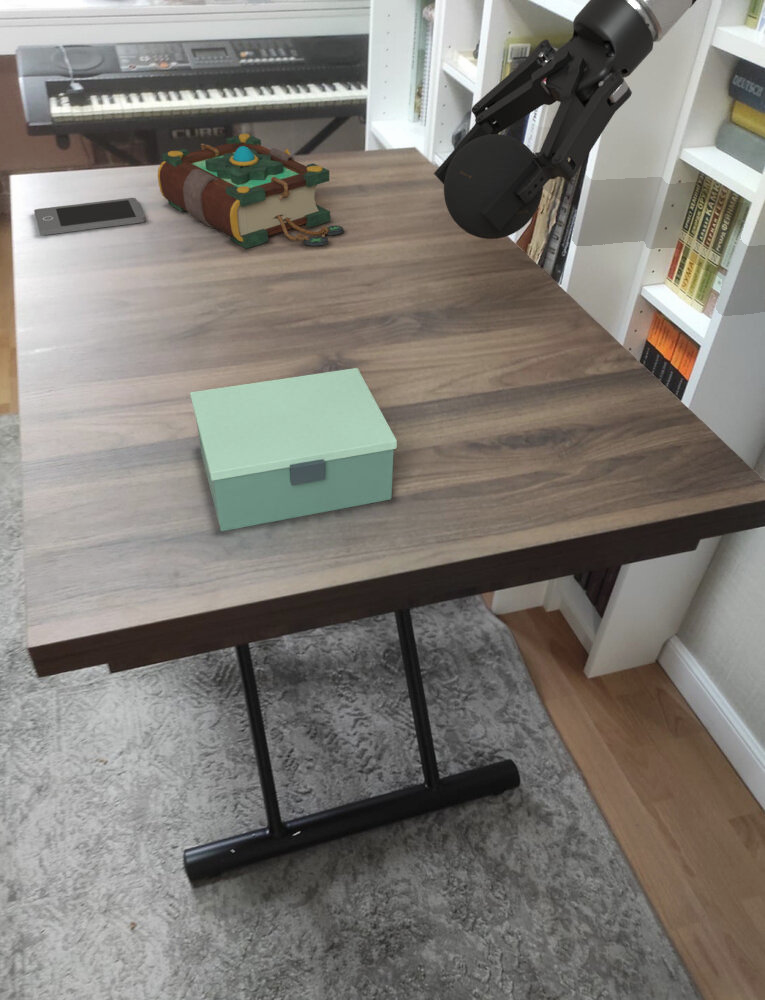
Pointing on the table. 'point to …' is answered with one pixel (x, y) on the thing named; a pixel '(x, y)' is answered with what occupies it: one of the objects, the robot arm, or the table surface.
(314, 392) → the box
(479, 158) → the speaker
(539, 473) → the table surface
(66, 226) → the smartphone
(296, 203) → the book
